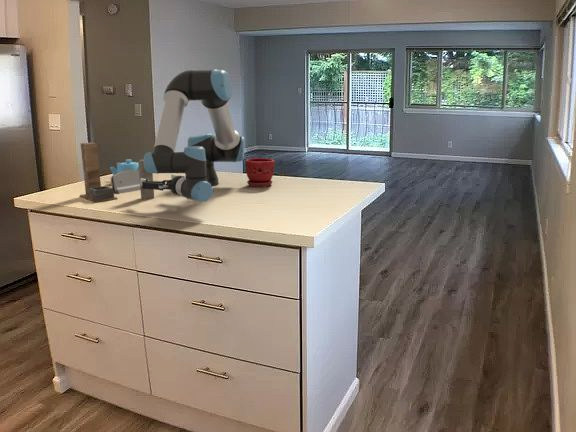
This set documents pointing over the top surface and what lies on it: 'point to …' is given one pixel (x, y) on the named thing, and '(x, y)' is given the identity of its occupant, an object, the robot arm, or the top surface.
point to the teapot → (125, 167)
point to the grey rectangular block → (145, 175)
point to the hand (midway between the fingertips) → (157, 179)
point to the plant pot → (259, 172)
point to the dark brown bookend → (93, 175)
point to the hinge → (126, 181)
